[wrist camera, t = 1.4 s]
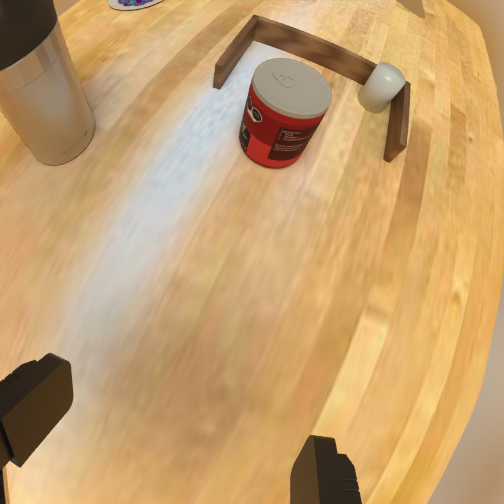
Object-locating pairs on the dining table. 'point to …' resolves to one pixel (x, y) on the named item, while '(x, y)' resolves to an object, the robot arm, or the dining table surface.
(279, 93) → the canned food
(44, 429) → the robot arm
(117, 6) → the patterned hat
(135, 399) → the dining table surface
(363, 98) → the grey rounded capsule
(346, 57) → the u-shaped frame
